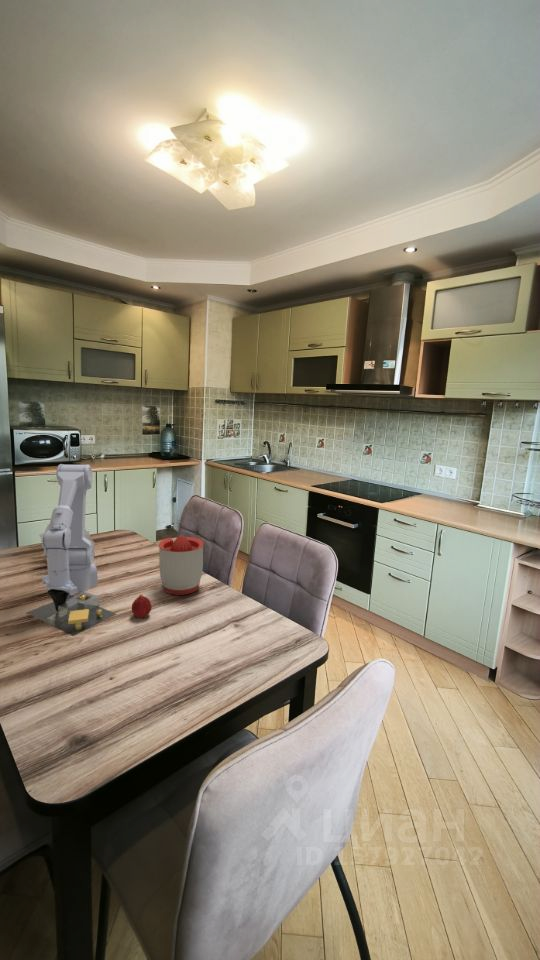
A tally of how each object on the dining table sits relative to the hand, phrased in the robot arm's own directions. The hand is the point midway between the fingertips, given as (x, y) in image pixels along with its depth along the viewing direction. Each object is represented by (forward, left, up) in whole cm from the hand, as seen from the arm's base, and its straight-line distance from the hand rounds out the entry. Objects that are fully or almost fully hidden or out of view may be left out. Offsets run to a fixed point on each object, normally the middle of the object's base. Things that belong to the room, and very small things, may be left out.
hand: (60, 610), depth 126 cm
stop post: (-5, +11, -1) cm, 12 cm away
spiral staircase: (-27, -36, -2) cm, 45 cm away
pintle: (-7, +1, -1) cm, 7 cm away
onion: (-13, +21, -2) cm, 25 cm away
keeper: (+1, +10, -1) cm, 10 cm away
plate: (-2, +3, -2) cm, 4 cm away
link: (-2, +2, -1) cm, 3 cm away
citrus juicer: (-36, +16, -2) cm, 39 cm away
